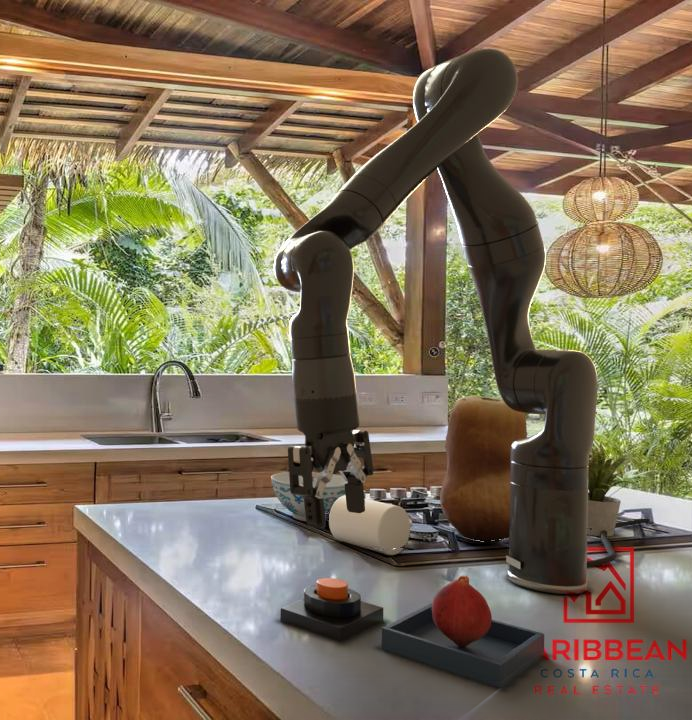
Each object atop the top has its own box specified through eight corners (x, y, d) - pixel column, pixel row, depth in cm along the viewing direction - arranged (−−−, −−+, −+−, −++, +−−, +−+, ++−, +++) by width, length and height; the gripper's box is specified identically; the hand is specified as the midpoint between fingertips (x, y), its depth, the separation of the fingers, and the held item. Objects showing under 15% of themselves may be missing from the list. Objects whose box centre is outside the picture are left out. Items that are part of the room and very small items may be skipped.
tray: (430, 622, 90) (431, 602, 90) (544, 655, 80) (544, 633, 80) (381, 648, 82) (381, 627, 82) (500, 688, 73) (500, 665, 73)
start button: (326, 589, 93) (326, 575, 93) (353, 597, 90) (353, 583, 90) (310, 595, 90) (311, 581, 90) (337, 604, 88) (338, 589, 88)
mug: (377, 559, 116) (378, 508, 116) (327, 543, 125) (328, 497, 124) (426, 548, 122) (427, 500, 121) (375, 534, 130) (375, 490, 130)
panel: (324, 603, 96) (324, 576, 96) (383, 621, 90) (383, 592, 90) (280, 621, 90) (280, 593, 90) (340, 642, 84) (340, 612, 84)
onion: (433, 652, 80) (434, 579, 80) (429, 632, 85) (430, 564, 85) (494, 661, 78) (496, 586, 77) (486, 640, 83) (487, 570, 83)
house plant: (672, 547, 122) (674, 450, 122) (580, 543, 124) (582, 447, 124) (623, 526, 136) (624, 438, 136) (541, 522, 138) (542, 437, 138)
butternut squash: (539, 555, 117) (542, 400, 117) (447, 549, 121) (449, 398, 121) (512, 534, 131) (515, 394, 130) (430, 528, 135) (432, 392, 134)
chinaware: (275, 525, 137) (275, 484, 136) (266, 507, 151) (267, 470, 151) (360, 529, 134) (360, 487, 134) (342, 510, 149) (343, 472, 149)
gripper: (316, 400, 85) (329, 537, 85) (383, 385, 93) (395, 510, 94) (264, 400, 91) (277, 528, 92) (331, 386, 100) (343, 504, 100)
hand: (337, 519), depth 93 cm, fingers open, 8 cm apart
